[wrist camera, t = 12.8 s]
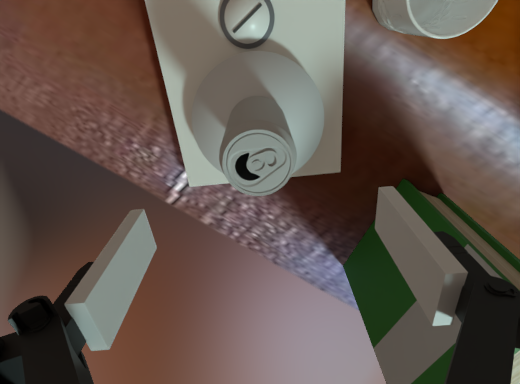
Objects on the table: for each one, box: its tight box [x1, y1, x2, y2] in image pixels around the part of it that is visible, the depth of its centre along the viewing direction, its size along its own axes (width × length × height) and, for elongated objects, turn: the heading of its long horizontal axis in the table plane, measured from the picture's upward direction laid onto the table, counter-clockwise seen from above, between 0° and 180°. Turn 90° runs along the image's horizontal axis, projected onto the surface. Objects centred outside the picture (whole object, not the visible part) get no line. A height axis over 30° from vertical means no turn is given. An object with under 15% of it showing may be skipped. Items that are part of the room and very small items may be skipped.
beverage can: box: [219, 96, 297, 196], centre depth 29 cm, size 6×6×12 cm
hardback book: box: [343, 179, 520, 384], centre depth 37 cm, size 18×7×24 cm, turn 158°
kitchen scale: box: [145, 0, 345, 187], centre depth 35 cm, size 20×22×5 cm
